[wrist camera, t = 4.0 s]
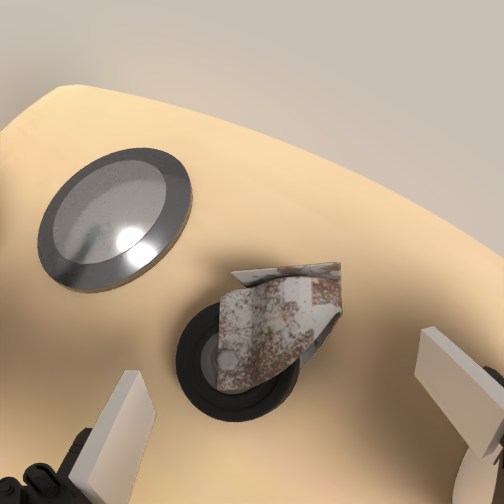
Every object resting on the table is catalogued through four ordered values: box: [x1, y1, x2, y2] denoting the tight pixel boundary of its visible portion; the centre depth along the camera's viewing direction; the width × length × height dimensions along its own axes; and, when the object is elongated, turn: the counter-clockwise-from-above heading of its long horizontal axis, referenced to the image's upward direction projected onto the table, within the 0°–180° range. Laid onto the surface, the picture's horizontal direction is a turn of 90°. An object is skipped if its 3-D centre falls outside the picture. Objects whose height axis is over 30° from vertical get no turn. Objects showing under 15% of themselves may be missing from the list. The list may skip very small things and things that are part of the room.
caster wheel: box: [176, 262, 342, 422], centre depth 20 cm, size 7×11×10 cm
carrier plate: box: [38, 148, 193, 293], centre depth 30 cm, size 19×19×1 cm
